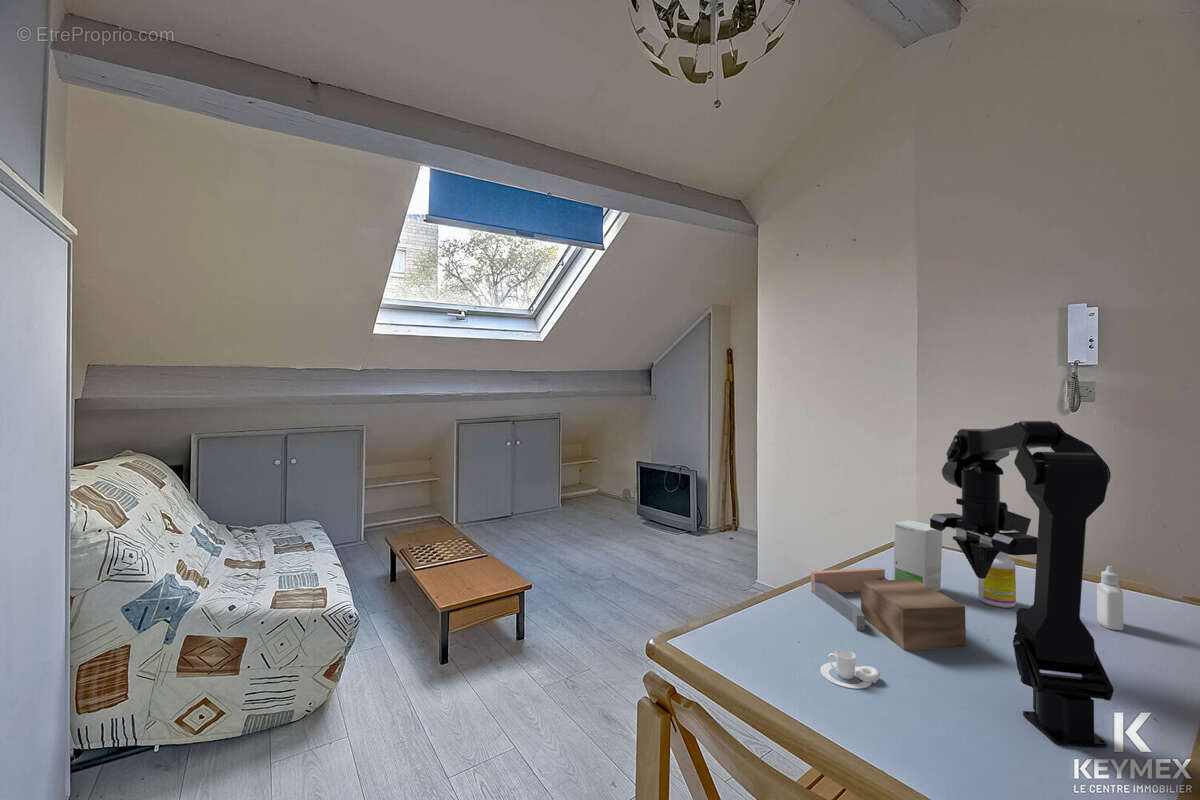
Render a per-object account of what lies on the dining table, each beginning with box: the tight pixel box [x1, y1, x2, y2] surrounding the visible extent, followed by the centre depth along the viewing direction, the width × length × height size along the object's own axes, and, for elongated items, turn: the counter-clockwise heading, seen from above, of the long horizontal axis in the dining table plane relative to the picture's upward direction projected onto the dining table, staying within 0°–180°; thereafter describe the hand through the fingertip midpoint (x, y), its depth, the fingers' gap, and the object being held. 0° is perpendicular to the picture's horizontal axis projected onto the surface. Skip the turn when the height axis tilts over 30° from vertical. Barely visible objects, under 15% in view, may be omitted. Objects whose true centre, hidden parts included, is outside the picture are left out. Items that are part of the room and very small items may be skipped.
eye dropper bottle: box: [1096, 565, 1124, 632], centre depth 101 cm, size 4×6×12 cm
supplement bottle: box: [977, 552, 1017, 609], centre depth 113 cm, size 7×7×13 cm
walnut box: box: [860, 579, 967, 651], centre depth 100 cm, size 14×12×8 cm
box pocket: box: [810, 567, 889, 632], centre depth 111 cm, size 20×20×5 cm
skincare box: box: [892, 519, 943, 592], centre depth 122 cm, size 8×7×16 cm
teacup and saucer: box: [820, 649, 881, 690], centre depth 85 cm, size 9×8×4 cm
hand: (981, 577), depth 94 cm, fingers closed
